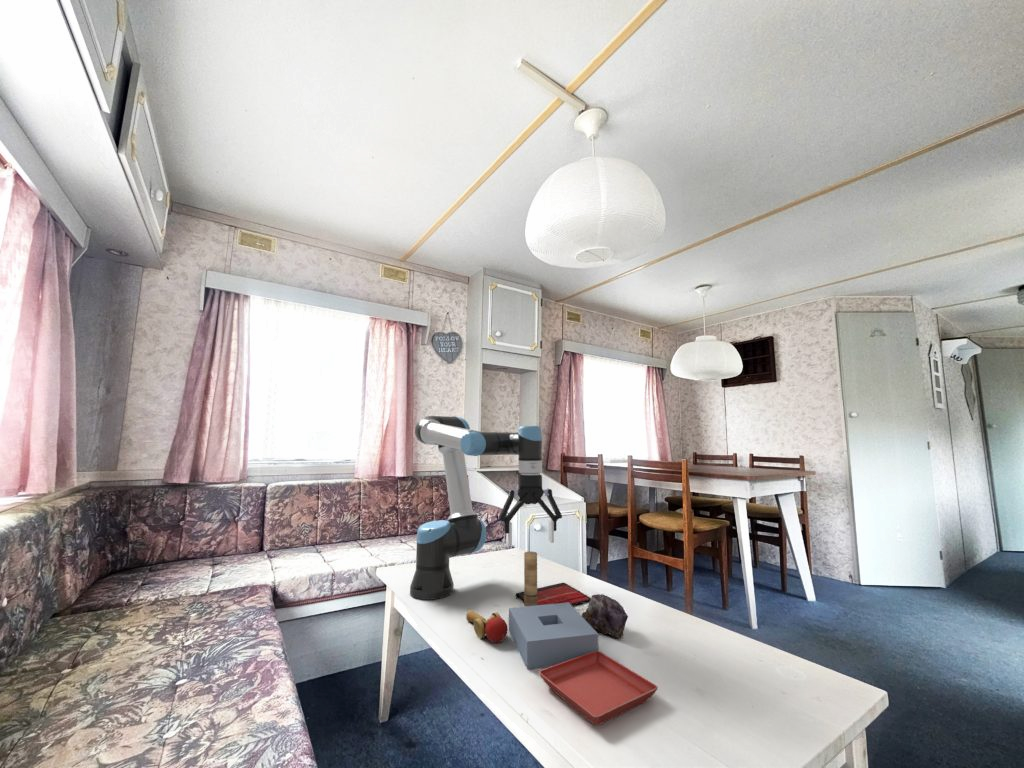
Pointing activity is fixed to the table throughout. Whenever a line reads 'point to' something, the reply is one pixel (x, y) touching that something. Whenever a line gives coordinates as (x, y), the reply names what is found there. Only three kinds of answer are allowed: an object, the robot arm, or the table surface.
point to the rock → (606, 615)
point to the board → (550, 634)
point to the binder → (558, 595)
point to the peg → (530, 579)
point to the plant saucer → (598, 686)
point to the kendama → (488, 626)
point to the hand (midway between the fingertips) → (530, 543)
